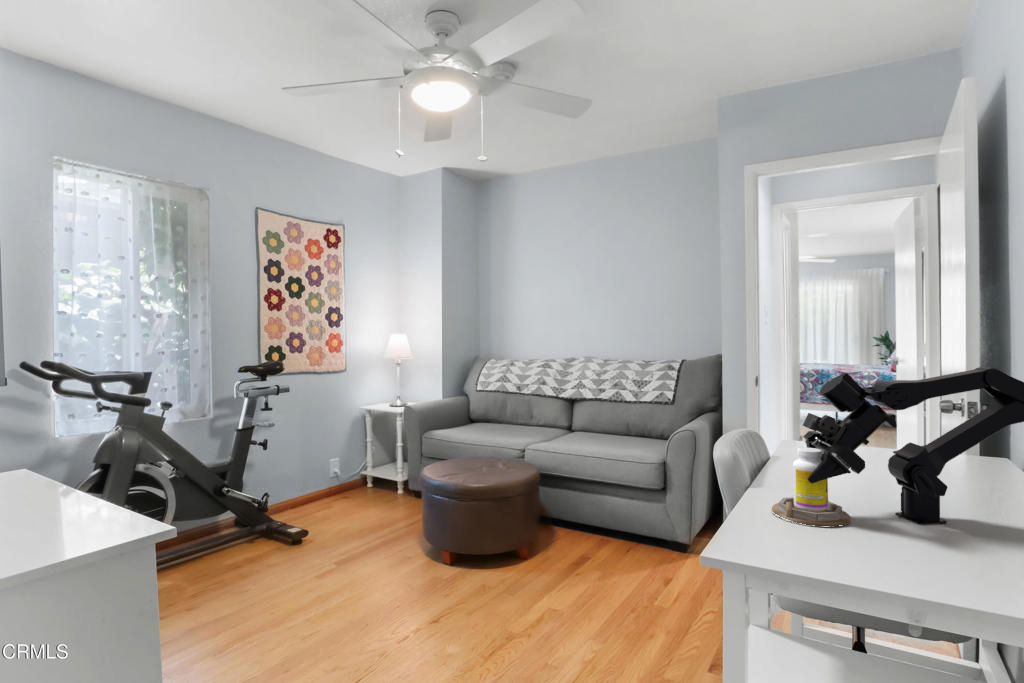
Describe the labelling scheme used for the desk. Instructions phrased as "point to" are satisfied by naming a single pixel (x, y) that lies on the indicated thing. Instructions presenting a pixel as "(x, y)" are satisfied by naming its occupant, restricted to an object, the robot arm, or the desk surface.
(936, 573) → the desk surface
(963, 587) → the desk surface
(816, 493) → the supplement bottle
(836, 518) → the collar plate
